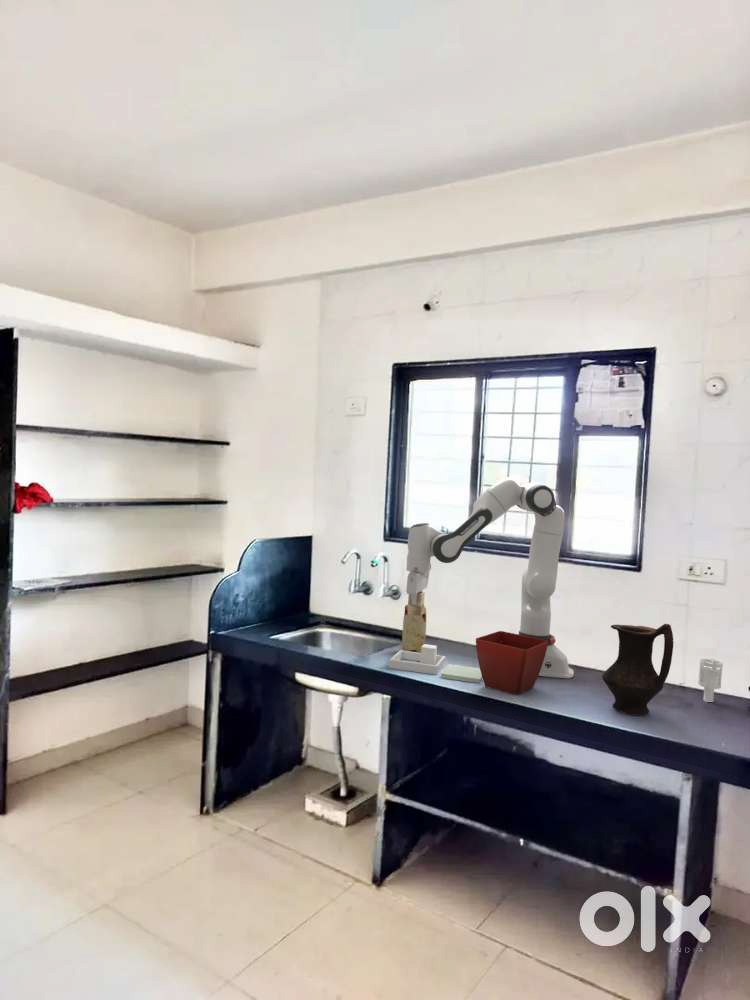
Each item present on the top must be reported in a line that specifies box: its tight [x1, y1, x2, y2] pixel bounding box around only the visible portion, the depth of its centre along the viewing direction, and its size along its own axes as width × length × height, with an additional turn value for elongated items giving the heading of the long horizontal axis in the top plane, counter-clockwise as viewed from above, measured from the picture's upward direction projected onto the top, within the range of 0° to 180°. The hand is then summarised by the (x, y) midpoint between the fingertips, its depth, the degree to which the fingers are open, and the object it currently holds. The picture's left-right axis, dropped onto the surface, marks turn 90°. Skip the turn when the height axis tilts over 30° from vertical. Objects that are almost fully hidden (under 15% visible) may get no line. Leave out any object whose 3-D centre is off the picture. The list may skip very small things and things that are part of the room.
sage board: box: [440, 663, 483, 684], centre depth 249 cm, size 14×14×2 cm
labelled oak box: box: [407, 592, 426, 616], centre depth 258 cm, size 5×5×8 cm
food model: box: [401, 604, 427, 653], centre depth 277 cm, size 10×7×20 cm
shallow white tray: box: [388, 649, 447, 676], centre depth 258 cm, size 18×16×3 cm
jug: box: [601, 623, 674, 716], centre depth 219 cm, size 21×18×30 cm
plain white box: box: [419, 643, 438, 665], centre depth 257 cm, size 5×5×8 cm
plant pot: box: [475, 630, 548, 696], centre depth 237 cm, size 19×19×17 cm
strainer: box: [697, 658, 724, 703], centre depth 236 cm, size 7×7×15 cm
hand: (416, 603), depth 258 cm, fingers closed on labelled oak box, 5 cm apart
